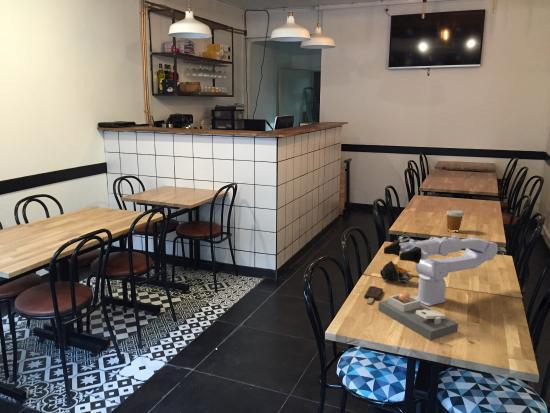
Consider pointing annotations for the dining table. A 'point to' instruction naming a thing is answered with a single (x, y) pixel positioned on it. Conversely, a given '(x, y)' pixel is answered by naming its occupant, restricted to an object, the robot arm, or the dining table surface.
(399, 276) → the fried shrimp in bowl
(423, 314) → the rocker switch
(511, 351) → the dining table surface
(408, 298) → the button
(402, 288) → the dining table surface
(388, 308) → the grey board with tray
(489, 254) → the robot arm
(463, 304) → the dining table surface
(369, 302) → the ice cream bar
